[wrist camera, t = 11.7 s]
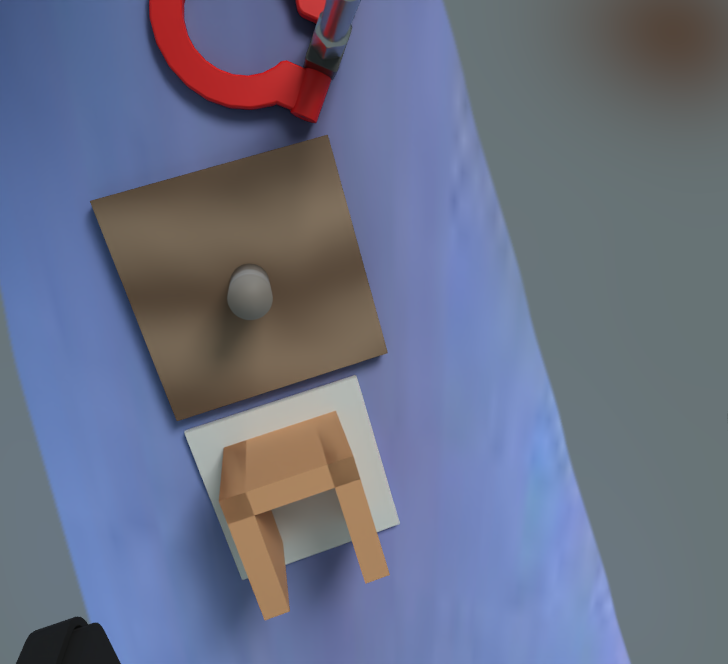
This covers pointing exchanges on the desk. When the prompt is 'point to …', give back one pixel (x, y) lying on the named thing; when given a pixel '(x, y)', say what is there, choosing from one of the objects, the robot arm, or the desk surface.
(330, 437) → the c link
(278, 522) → the pad
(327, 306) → the stand
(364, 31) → the desk surface
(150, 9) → the tow hook
